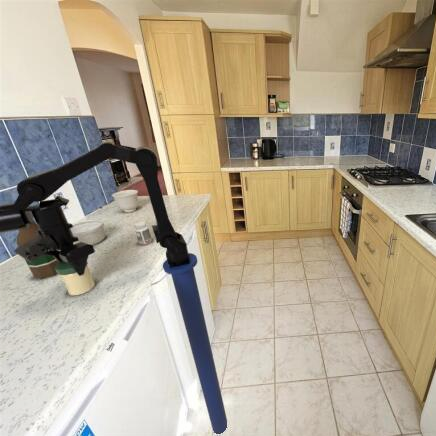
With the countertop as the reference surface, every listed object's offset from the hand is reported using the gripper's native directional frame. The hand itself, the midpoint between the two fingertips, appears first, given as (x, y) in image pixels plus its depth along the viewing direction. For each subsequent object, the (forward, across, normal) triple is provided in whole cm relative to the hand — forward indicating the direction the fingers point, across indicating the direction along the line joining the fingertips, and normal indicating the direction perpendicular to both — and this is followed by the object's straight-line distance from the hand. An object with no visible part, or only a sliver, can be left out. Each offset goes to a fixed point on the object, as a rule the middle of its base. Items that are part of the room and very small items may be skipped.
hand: (74, 272), depth 70 cm
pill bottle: (+6, -9, +27) cm, 29 cm away
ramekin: (+6, -32, +18) cm, 37 cm away
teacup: (+6, -53, +48) cm, 72 cm away
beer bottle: (+6, -20, 0) cm, 21 cm away
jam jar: (+6, 0, 0) cm, 6 cm away
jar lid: (-3, 0, 0) cm, 3 cm away
